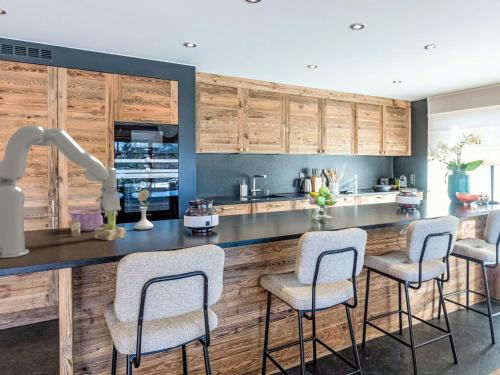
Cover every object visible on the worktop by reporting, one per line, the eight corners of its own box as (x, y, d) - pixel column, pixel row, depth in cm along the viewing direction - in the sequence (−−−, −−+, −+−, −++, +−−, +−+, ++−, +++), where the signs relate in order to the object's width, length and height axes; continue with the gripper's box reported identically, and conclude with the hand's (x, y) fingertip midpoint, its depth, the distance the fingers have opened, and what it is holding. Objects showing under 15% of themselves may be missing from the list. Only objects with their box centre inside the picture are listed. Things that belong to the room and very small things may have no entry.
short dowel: (74, 236, 197) (74, 224, 197) (69, 236, 200) (69, 223, 199) (82, 235, 201) (81, 223, 201) (77, 234, 203) (76, 222, 203)
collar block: (109, 240, 188) (109, 231, 188) (94, 238, 194) (94, 229, 194) (126, 236, 198) (125, 227, 197) (111, 234, 204) (111, 225, 204)
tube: (108, 236, 192) (108, 200, 191) (102, 235, 194) (101, 200, 193) (117, 234, 197) (116, 199, 196) (111, 233, 199) (110, 199, 198)
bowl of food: (69, 234, 205) (68, 214, 204) (71, 228, 223) (70, 210, 223) (106, 231, 213) (106, 212, 213) (105, 226, 232) (105, 208, 231)
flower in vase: (131, 228, 222) (130, 189, 220) (148, 226, 229) (147, 188, 228) (140, 231, 212) (139, 190, 210) (157, 229, 220) (157, 189, 218)
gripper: (100, 191, 185) (100, 225, 186) (126, 189, 200) (127, 221, 201) (91, 190, 189) (91, 224, 190) (117, 189, 204) (118, 220, 205)
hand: (109, 222), depth 195 cm, fingers closed on tube, 5 cm apart
